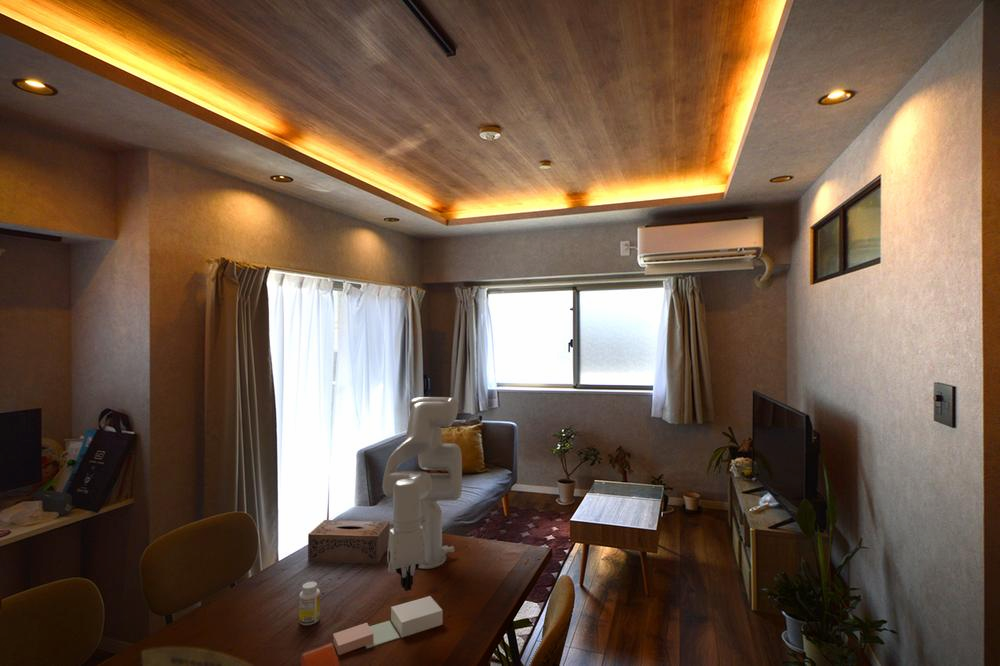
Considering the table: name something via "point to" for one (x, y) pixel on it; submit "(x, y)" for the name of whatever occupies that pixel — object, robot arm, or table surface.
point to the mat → (383, 633)
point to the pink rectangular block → (353, 638)
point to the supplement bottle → (309, 604)
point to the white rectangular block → (416, 616)
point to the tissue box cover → (348, 541)
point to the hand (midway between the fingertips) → (406, 588)
